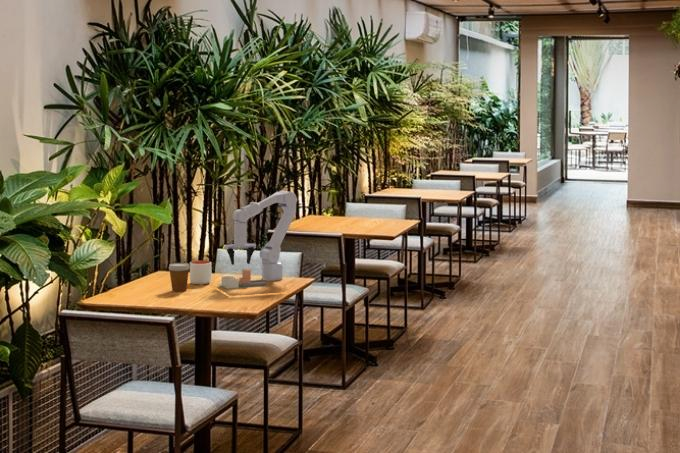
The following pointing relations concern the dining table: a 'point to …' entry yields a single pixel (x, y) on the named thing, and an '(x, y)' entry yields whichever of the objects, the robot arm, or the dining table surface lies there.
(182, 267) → the disposable coffee cup
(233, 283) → the pitch board
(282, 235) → the robot arm
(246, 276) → the figure
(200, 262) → the cup
